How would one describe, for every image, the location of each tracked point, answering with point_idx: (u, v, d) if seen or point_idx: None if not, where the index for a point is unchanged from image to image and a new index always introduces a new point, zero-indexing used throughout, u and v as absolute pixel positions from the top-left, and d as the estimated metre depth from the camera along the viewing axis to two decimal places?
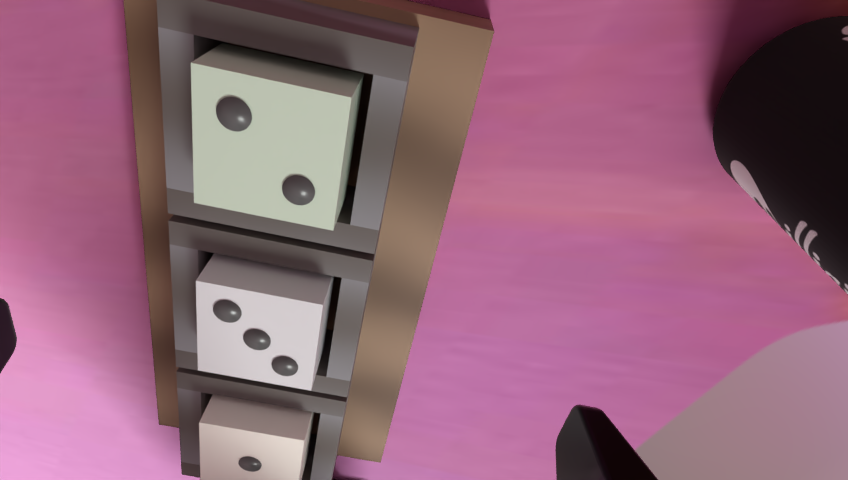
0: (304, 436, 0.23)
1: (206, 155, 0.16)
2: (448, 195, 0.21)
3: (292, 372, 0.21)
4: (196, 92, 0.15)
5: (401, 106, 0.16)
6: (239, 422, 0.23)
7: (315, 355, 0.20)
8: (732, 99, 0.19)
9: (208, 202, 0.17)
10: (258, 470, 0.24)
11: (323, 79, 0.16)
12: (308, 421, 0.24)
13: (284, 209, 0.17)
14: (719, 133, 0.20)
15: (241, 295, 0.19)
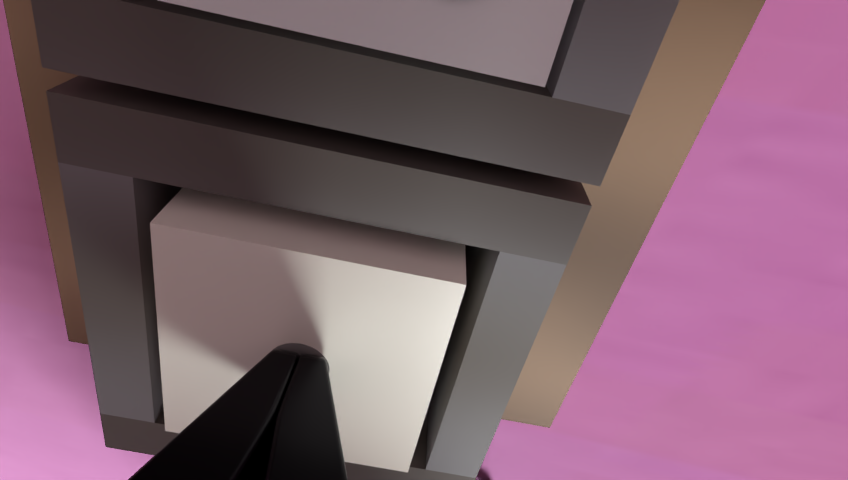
0: (462, 276, 0.08)
1: None
2: None
3: None
4: None
5: None
6: (270, 232, 0.08)
7: None
8: None
9: None
10: None
11: None
12: (462, 246, 0.09)
13: None
14: None
15: None
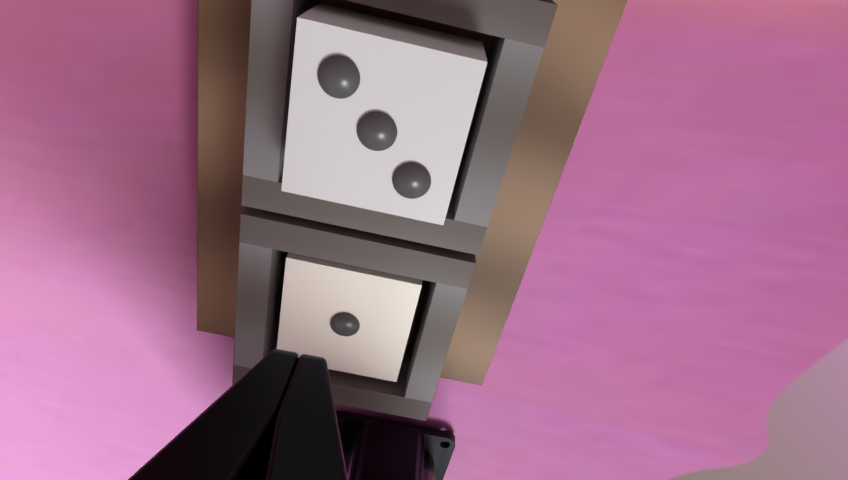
0: (420, 281, 0.18)
1: None
2: None
3: (421, 192, 0.14)
4: None
5: None
6: None
7: (459, 161, 0.14)
8: None
9: None
10: (353, 334, 0.19)
11: None
12: None
13: None
14: None
15: (364, 45, 0.12)
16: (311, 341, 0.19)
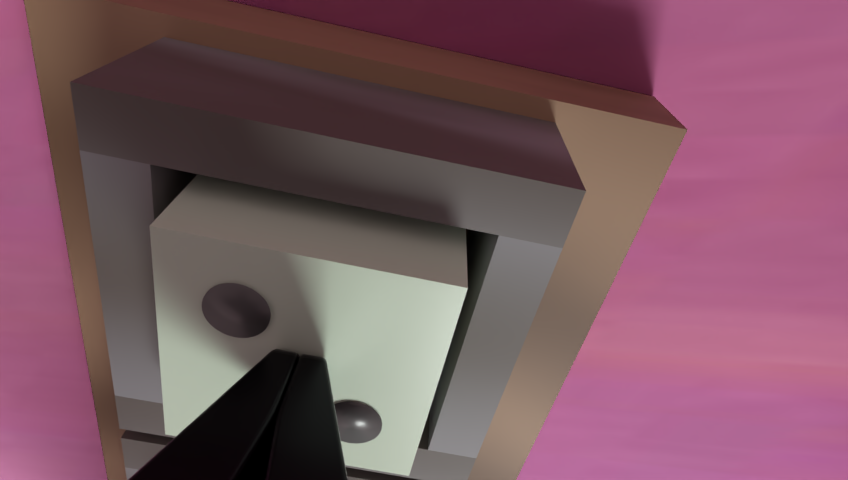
0: None
1: (186, 370, 0.09)
2: (568, 363, 0.13)
3: None
4: (163, 274, 0.08)
5: (544, 286, 0.09)
6: None
7: None
8: None
9: None
10: None
11: (405, 236, 0.08)
12: None
13: None
14: None
15: None
16: None
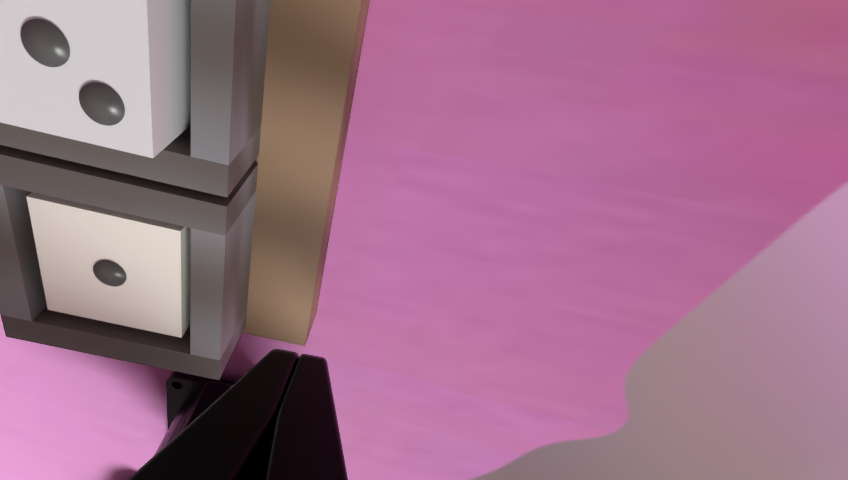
0: (182, 227, 0.16)
1: None
2: None
3: (116, 118, 0.13)
4: None
5: None
6: None
7: (150, 82, 0.12)
8: None
9: None
10: (122, 284, 0.17)
11: None
12: None
13: None
14: None
15: None
16: (80, 291, 0.18)
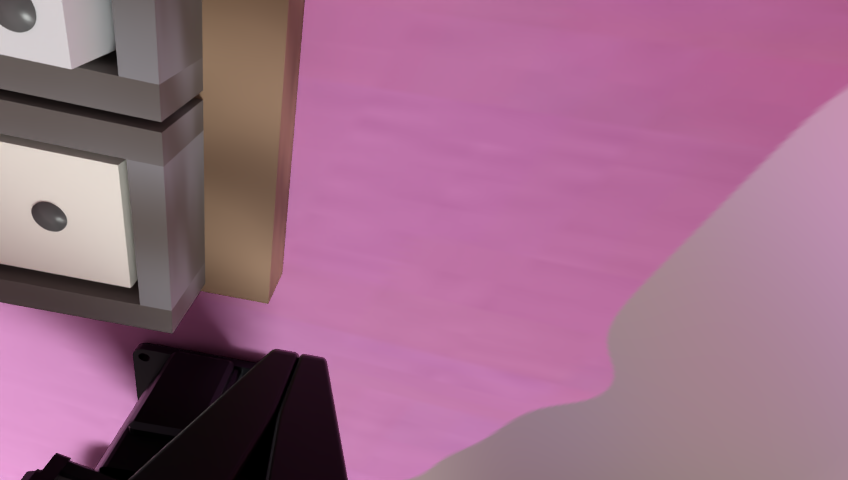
0: (120, 162, 0.15)
1: None
2: None
3: (28, 23, 0.12)
4: None
5: None
6: (21, 139, 0.15)
7: None
8: None
9: None
10: (63, 228, 0.16)
11: None
12: None
13: None
14: None
15: None
16: (21, 239, 0.17)
